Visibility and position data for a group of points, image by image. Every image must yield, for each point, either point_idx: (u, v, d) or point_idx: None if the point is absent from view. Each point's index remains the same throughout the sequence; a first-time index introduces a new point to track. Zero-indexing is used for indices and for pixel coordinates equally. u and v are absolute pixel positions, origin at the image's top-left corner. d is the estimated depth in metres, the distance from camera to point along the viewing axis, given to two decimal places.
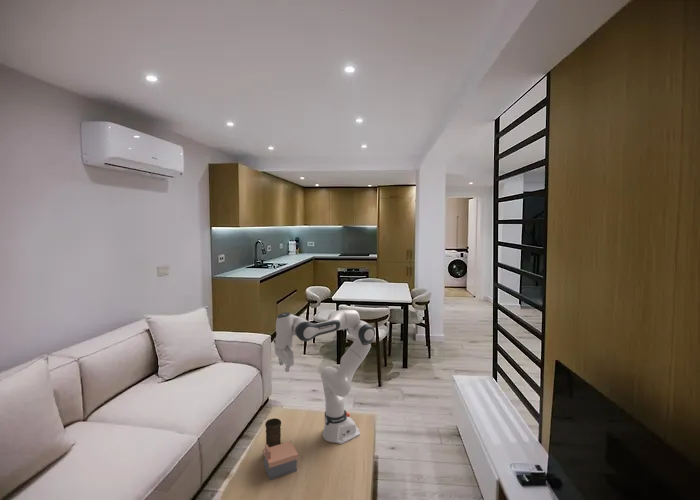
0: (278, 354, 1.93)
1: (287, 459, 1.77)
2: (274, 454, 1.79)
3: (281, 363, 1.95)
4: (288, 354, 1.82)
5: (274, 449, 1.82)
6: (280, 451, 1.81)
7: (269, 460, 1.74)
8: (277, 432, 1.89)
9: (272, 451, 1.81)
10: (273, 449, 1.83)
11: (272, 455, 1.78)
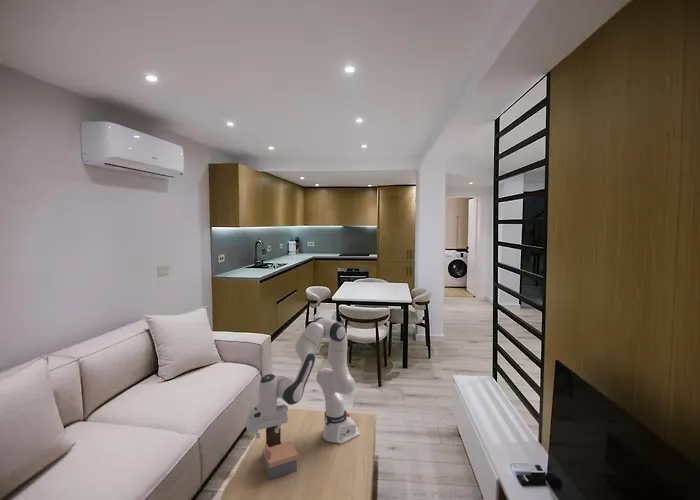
0: (261, 426, 1.73)
1: (287, 459, 1.77)
2: (274, 454, 1.79)
3: None
4: (286, 410, 1.79)
5: (274, 449, 1.82)
6: (280, 451, 1.81)
7: (269, 460, 1.74)
8: None
9: (272, 451, 1.81)
10: (273, 449, 1.83)
11: (272, 455, 1.78)
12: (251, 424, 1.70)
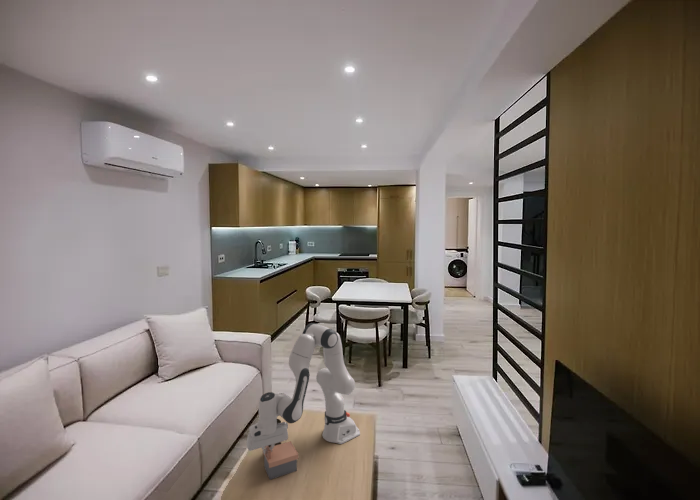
0: (261, 444, 1.74)
1: (287, 459, 1.77)
2: (274, 454, 1.79)
3: None
4: (286, 427, 1.80)
5: (274, 449, 1.82)
6: (280, 451, 1.81)
7: (269, 460, 1.74)
8: None
9: (272, 451, 1.81)
10: (273, 449, 1.83)
11: (272, 455, 1.78)
12: (251, 443, 1.71)
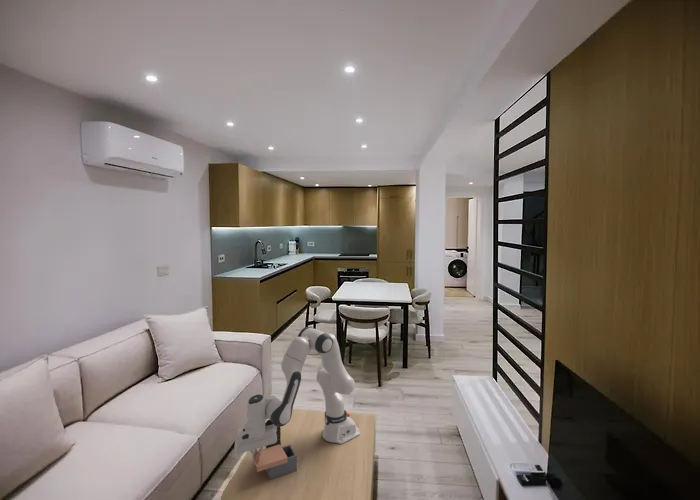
0: (250, 447, 1.71)
1: (276, 463, 1.74)
2: (263, 457, 1.76)
3: None
4: (275, 430, 1.78)
5: (263, 453, 1.80)
6: (269, 454, 1.79)
7: (257, 464, 1.72)
8: (277, 432, 1.89)
9: (261, 454, 1.78)
10: (262, 452, 1.80)
11: (261, 458, 1.75)
12: (239, 446, 1.68)
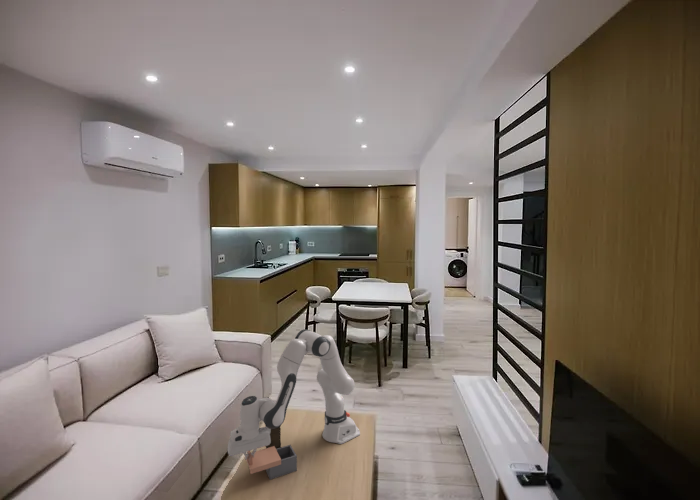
0: (243, 449, 1.70)
1: (269, 465, 1.72)
2: (256, 459, 1.75)
3: None
4: (268, 432, 1.76)
5: (257, 455, 1.78)
6: (263, 456, 1.77)
7: (251, 466, 1.70)
8: (277, 432, 1.89)
9: (254, 456, 1.77)
10: (255, 454, 1.78)
11: (254, 461, 1.74)
12: (232, 448, 1.67)
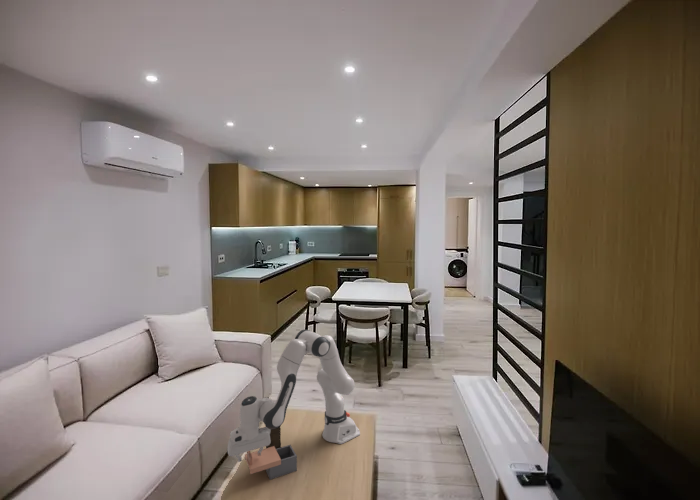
0: (243, 449, 1.70)
1: (269, 465, 1.72)
2: (256, 460, 1.74)
3: None
4: (268, 432, 1.76)
5: (257, 455, 1.78)
6: (262, 456, 1.77)
7: (250, 466, 1.70)
8: (277, 432, 1.89)
9: (254, 456, 1.77)
10: (255, 454, 1.78)
11: (254, 461, 1.74)
12: (232, 448, 1.67)
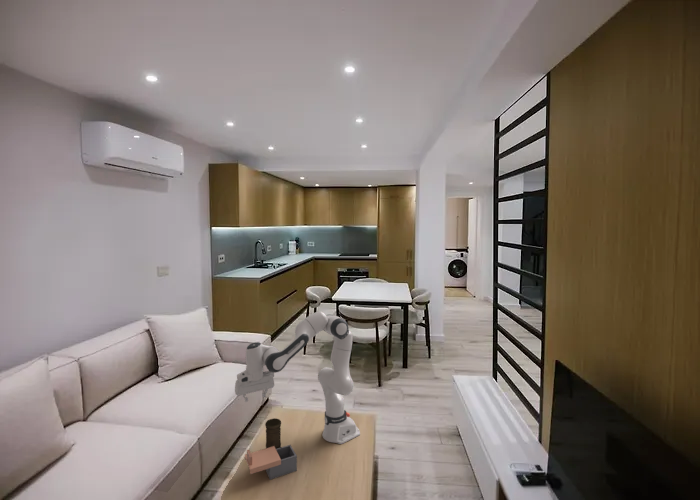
0: (249, 390, 1.84)
1: (269, 465, 1.72)
2: (256, 460, 1.74)
3: None
4: (272, 375, 1.90)
5: (257, 455, 1.78)
6: (262, 456, 1.77)
7: (250, 466, 1.70)
8: (277, 432, 1.89)
9: (254, 456, 1.77)
10: (255, 454, 1.78)
11: (254, 461, 1.74)
12: (239, 388, 1.81)
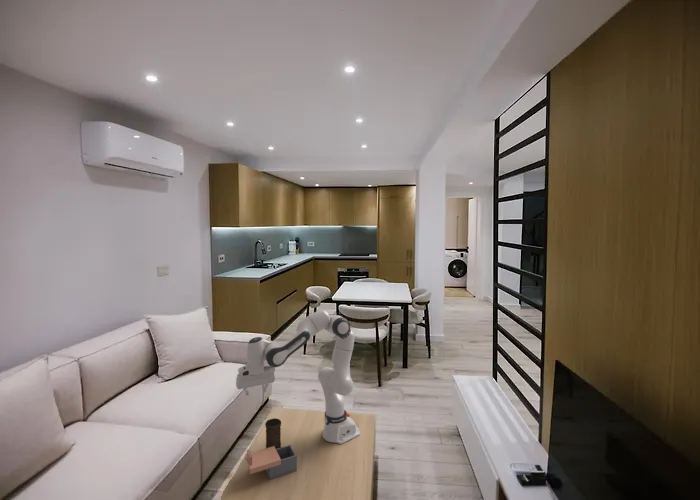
0: (250, 384, 1.87)
1: (269, 465, 1.72)
2: (256, 460, 1.74)
3: None
4: (273, 370, 1.93)
5: (257, 455, 1.78)
6: (262, 456, 1.77)
7: (250, 466, 1.70)
8: (277, 432, 1.89)
9: (254, 456, 1.77)
10: (255, 454, 1.78)
11: (254, 461, 1.74)
12: (240, 382, 1.84)
